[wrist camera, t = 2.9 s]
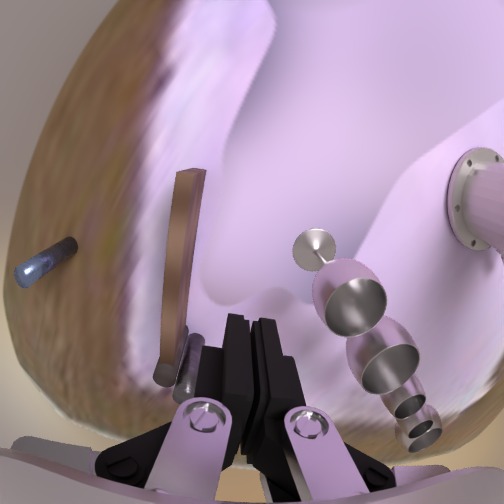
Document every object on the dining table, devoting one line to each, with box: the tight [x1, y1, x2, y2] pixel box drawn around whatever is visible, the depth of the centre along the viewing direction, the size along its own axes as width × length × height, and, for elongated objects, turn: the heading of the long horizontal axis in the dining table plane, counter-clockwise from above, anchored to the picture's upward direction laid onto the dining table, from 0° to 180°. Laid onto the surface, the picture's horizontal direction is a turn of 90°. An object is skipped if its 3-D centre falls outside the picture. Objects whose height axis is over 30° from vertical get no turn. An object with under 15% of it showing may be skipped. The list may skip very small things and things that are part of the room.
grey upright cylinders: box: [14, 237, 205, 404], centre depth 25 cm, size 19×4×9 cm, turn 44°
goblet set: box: [293, 228, 442, 453], centre depth 26 cm, size 28×6×13 cm, turn 35°
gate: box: [153, 168, 206, 387], centre depth 24 cm, size 18×2×8 cm, turn 169°
